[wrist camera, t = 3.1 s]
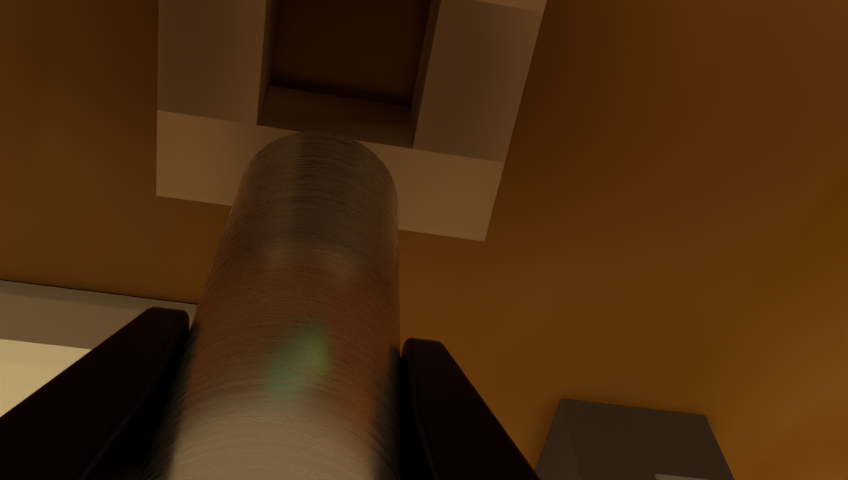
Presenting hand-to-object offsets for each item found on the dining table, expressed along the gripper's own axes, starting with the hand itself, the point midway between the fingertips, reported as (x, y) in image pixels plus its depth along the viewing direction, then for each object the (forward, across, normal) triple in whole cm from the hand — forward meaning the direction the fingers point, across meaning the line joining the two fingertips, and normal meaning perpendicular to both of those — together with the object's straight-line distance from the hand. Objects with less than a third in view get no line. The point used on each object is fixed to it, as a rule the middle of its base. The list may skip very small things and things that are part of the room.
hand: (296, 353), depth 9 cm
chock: (+12, -11, +13) cm, 21 cm away
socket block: (+12, 0, 0) cm, 12 cm away
